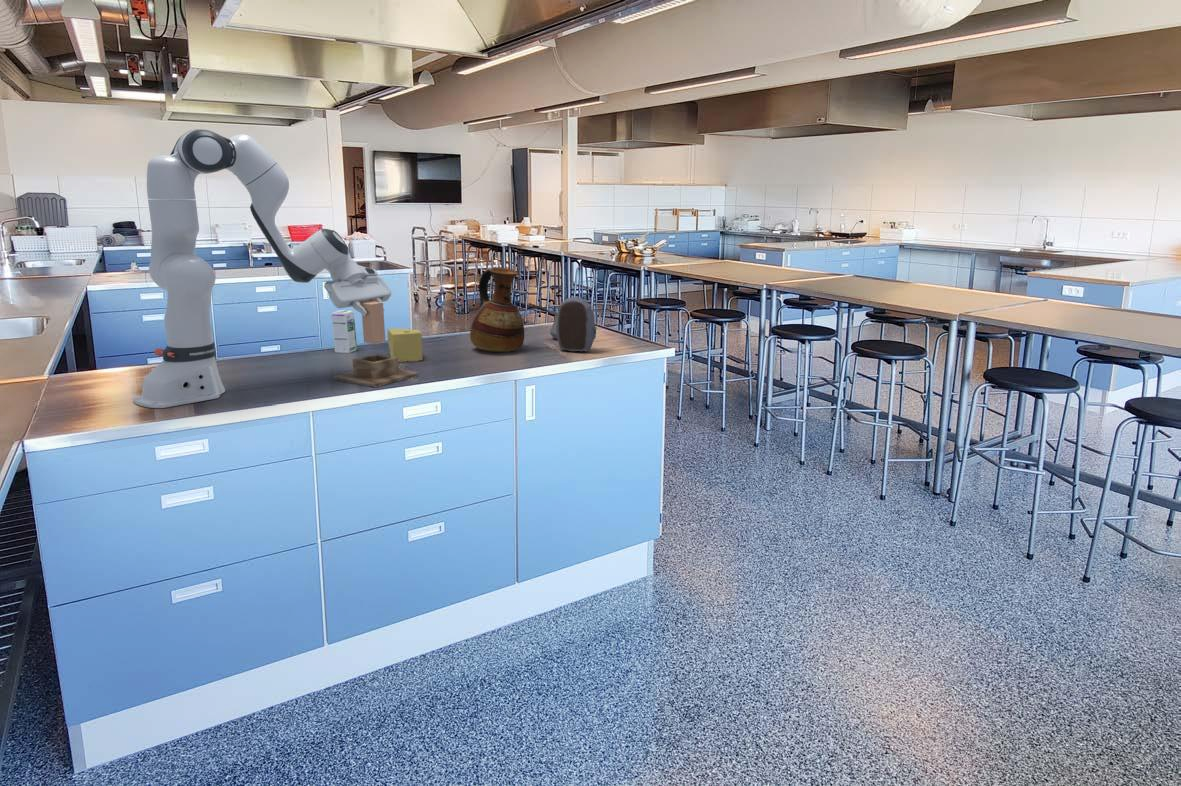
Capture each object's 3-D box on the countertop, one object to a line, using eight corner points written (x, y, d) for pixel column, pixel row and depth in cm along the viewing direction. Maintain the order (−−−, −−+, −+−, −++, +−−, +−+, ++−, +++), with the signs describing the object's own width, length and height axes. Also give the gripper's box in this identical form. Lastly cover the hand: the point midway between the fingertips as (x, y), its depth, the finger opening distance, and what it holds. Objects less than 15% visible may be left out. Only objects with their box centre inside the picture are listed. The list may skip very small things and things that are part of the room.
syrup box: (349, 353, 261) (346, 312, 257) (334, 352, 262) (330, 312, 258) (357, 350, 266) (354, 310, 263) (342, 349, 268) (339, 309, 264)
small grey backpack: (553, 351, 270) (553, 296, 265) (561, 347, 277) (561, 293, 272) (592, 354, 265) (593, 299, 260) (599, 350, 273) (600, 296, 268)
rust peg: (374, 344, 223) (371, 304, 219) (364, 342, 225) (361, 303, 222) (385, 341, 226) (382, 302, 223) (375, 339, 229) (372, 301, 225)
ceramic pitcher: (502, 358, 257) (501, 271, 250) (458, 351, 268) (456, 268, 260) (535, 348, 274) (535, 267, 266) (493, 342, 284) (491, 263, 276)
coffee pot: (571, 335, 300) (572, 298, 296) (583, 340, 290) (583, 302, 286) (522, 338, 292) (521, 301, 288) (532, 344, 282) (532, 305, 278)
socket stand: (374, 387, 217) (373, 367, 215) (333, 379, 226) (331, 359, 224) (418, 375, 231) (417, 357, 230) (378, 368, 240) (377, 350, 239)
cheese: (418, 354, 261) (417, 326, 258) (423, 361, 251) (422, 332, 249) (388, 356, 257) (387, 328, 255) (392, 363, 248) (390, 334, 245)
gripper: (325, 274, 215) (351, 311, 213) (379, 268, 232) (403, 302, 229) (317, 288, 219) (341, 324, 216) (370, 282, 235) (394, 315, 233)
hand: (374, 313), depth 223 cm, fingers closed on rust peg, 4 cm apart
